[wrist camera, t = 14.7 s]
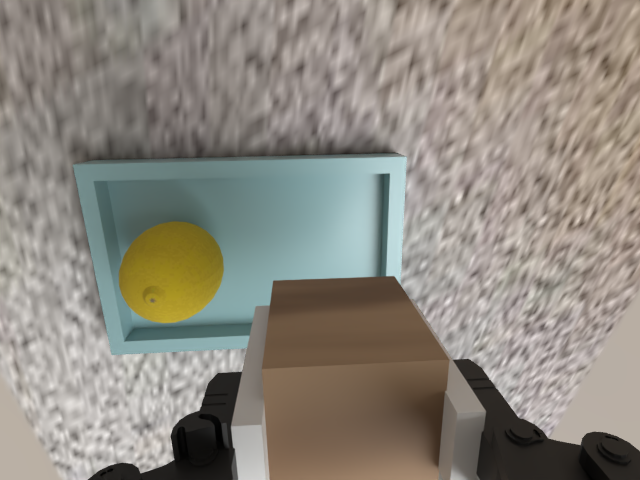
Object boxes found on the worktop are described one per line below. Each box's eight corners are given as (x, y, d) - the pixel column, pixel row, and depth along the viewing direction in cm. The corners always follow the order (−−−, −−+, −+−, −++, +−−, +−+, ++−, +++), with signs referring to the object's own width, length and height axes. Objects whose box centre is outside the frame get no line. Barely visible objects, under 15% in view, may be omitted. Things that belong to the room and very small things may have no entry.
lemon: (148, 280, 27) (94, 344, 20) (150, 203, 26) (92, 240, 18) (229, 288, 28) (206, 353, 20) (235, 213, 26) (213, 254, 19)
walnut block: (273, 280, 16) (261, 369, 10) (394, 275, 16) (449, 359, 11) (278, 385, 17) (271, 514, 12) (389, 379, 18) (436, 502, 12)
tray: (93, 160, 26) (72, 164, 23) (396, 152, 27) (406, 156, 24) (126, 335, 29) (111, 354, 27) (389, 323, 31) (397, 340, 28)
